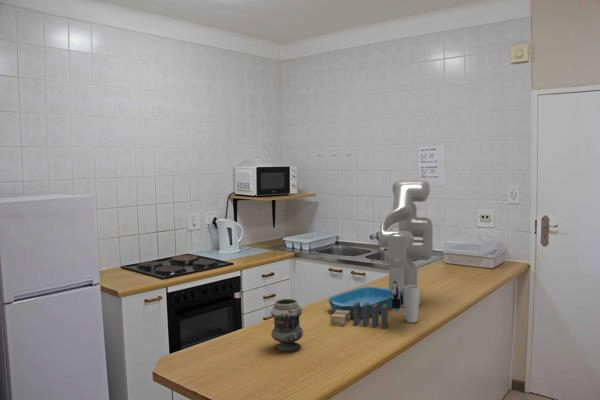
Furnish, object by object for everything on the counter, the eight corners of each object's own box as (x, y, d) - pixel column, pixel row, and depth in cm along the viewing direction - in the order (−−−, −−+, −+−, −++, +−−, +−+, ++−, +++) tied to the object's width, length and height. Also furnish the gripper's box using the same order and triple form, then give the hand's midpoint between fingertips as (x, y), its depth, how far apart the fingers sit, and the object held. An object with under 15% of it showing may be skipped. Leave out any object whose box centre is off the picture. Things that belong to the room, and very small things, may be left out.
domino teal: (394, 312, 202) (394, 290, 202) (396, 308, 207) (396, 287, 207) (398, 312, 202) (398, 290, 201) (400, 309, 207) (400, 287, 206)
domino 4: (381, 328, 205) (381, 307, 205) (384, 324, 210) (383, 304, 209) (385, 328, 205) (385, 307, 204) (387, 325, 209) (387, 304, 209)
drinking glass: (408, 324, 210) (408, 289, 209) (401, 319, 216) (400, 285, 215) (422, 322, 212) (422, 288, 211) (414, 317, 218) (414, 284, 217)
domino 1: (353, 325, 210) (353, 304, 209) (356, 322, 214) (356, 301, 214) (357, 326, 209) (357, 305, 209) (360, 322, 214) (360, 302, 213)
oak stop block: (337, 318, 220) (337, 309, 220) (350, 319, 218) (350, 310, 218) (330, 325, 211) (330, 316, 211) (344, 326, 209) (343, 317, 209)
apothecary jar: (286, 340, 194) (284, 295, 193) (310, 346, 187) (309, 299, 186) (265, 349, 185) (263, 302, 184) (289, 356, 177) (288, 307, 176)
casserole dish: (356, 324, 212) (356, 308, 212) (319, 313, 228) (319, 298, 228) (405, 306, 238) (405, 291, 237) (369, 297, 254) (369, 284, 253)
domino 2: (362, 326, 208) (362, 305, 208) (365, 322, 213) (365, 302, 212) (366, 326, 208) (366, 306, 207) (369, 323, 212) (369, 302, 212)
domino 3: (372, 327, 207) (371, 306, 206) (374, 323, 212) (374, 303, 211) (375, 327, 206) (375, 306, 206) (378, 324, 211) (378, 303, 210)
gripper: (392, 259, 213) (392, 300, 214) (383, 266, 197) (384, 311, 198) (409, 259, 210) (410, 302, 211) (402, 267, 194) (403, 312, 195)
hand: (397, 306), depth 204 cm, fingers closed on domino teal, 4 cm apart
